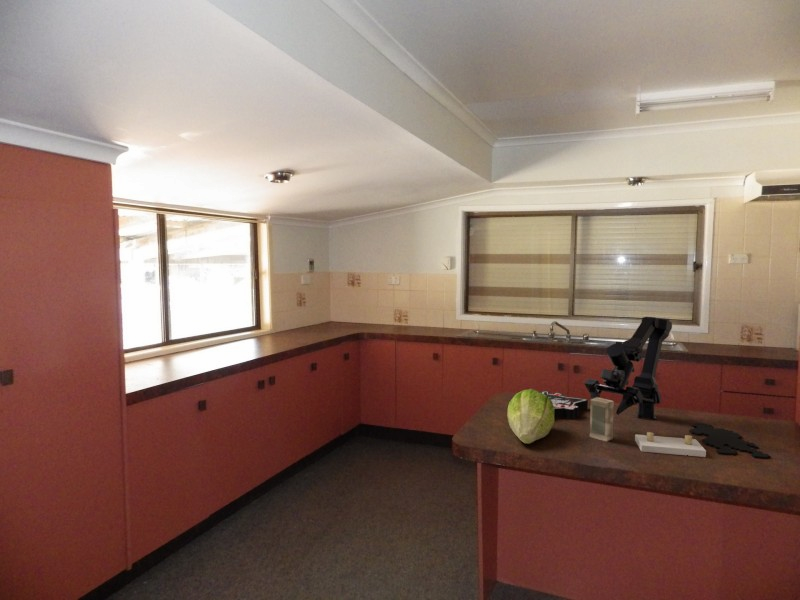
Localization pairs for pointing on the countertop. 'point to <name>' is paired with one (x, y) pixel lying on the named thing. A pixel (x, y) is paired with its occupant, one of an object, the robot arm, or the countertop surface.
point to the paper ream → (601, 419)
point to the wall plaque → (566, 405)
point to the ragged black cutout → (726, 441)
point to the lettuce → (530, 415)
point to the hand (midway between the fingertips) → (603, 410)
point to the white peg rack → (670, 445)
